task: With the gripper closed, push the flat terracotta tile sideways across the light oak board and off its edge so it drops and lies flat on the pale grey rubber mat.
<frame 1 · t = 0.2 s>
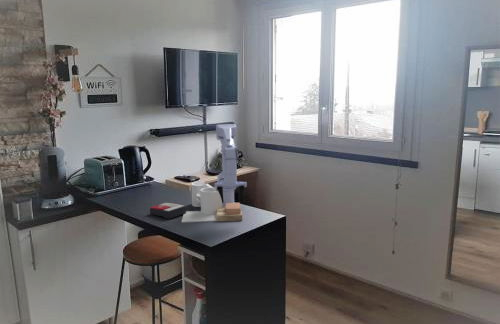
hand: (231, 202, 185), 10 cm above the countertop, tool pointing down, fingers open, 7 cm apart
tile: (233, 210, 196), point 2 cm above the countertop, touching board
red and grey box: (168, 214, 200), on the countertop, touching mat
bracket: (205, 209, 210), on the countertop, touching board, mat
mat: (200, 216, 195), on the countertop
board: (229, 215, 196), on the countertop
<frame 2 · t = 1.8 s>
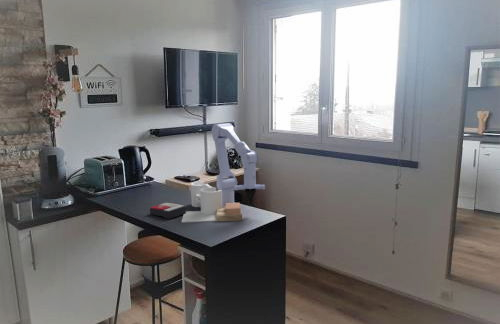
hand: (250, 203, 196), 6 cm above the countertop, tool pointing down, fingers closed
nothing on the countertop moved.
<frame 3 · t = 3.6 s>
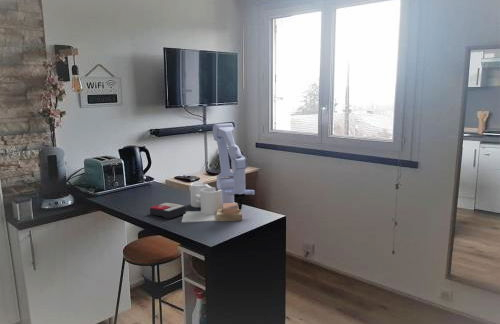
hand: (240, 208, 196), 3 cm above the countertop, tool pointing down, fingers closed
tile: (230, 210, 196), point 3 cm above the countertop, touching board
everything else where it was.
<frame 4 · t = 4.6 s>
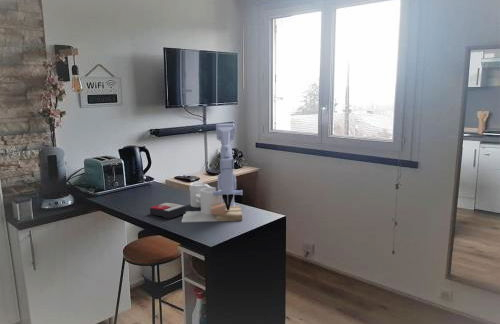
hand: (228, 209, 196), 3 cm above the countertop, tool pointing down, fingers closed
tile: (218, 211, 196), point 3 cm above the countertop, touching gripper
everything else where it was.
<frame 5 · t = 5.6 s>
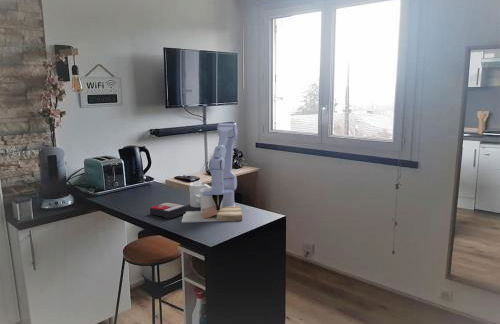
hand: (218, 209, 196), 3 cm above the countertop, tool pointing down, fingers closed
tile: (210, 213, 195), point 2 cm above the countertop, tilted 17°, touching board, gripper, mat
bracket: (204, 209, 209), on the countertop
everything else where it was.
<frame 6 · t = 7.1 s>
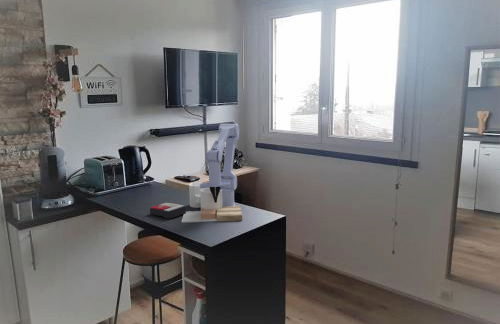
hand: (215, 202, 195), 7 cm above the countertop, tool pointing down, fingers closed, pressing on bracket
tile: (208, 215, 195), resting on mat
bracket: (204, 209, 209), on the countertop, touching board, gripper, mat
everything else where it was.
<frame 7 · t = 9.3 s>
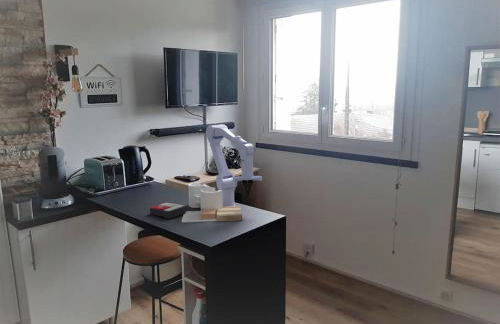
hand: (247, 194, 198), 9 cm above the countertop, tool pointing down, fingers closed
bracket: (204, 210, 209), on the countertop, touching board, mat
everything else where it was.
at the end: tile inside the target area (4.2 cm from its centre), point 0.5 cm above the countertop; tile tilted 0°; tile touching mat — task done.
